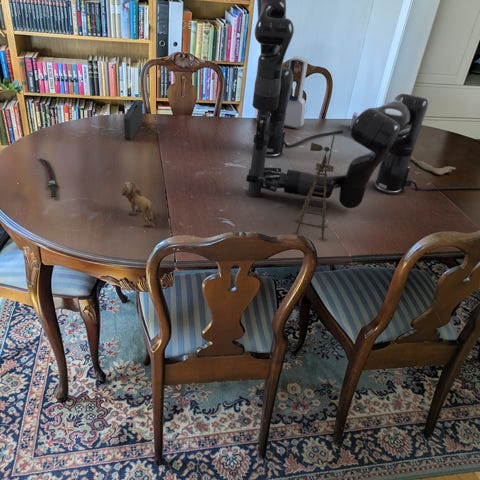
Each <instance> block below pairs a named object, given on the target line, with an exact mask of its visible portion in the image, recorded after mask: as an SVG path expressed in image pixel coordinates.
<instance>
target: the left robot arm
mask: <svg viewBox="0 0 480 480" xmlns="http://www.w3.org/2000/svg"><path fill="white" fill-rule="evenodd" d="M256 3H257V4H256V5H257V21H256V23H255V27H254V38H255V40H256V41H257V43H259V44H260V46H259V47H260V54H259V56H258V59H257V68H256V75H255V76H256V77H255V80H254V81H255V82H254V88H253V96H252V97H253V98H252V108H254V109H256V110H258V112H257V114H256V123H255V131H256V132H255V135H256V136H255V137H256V138H257V140H256V150H263V143H264V138H265V135H267V136H268V137H269V142H268V144H267V151H266V158H277V157H279V156H281V155H282V154H283V149H284V147H285V148H294V147H296V146H298V145H301V144H302V143H305V142H306V141H309V140H311V139H315V138H319V137H323V136H324V137H325V136H328V135H330V136H331V135H333V134H334V133H335V134H342V133H343V130H336V131H330V132H324V133H323V132H322V133H319V134H314V135H310V136H308V137H305V138H304V139H302V140H299V141H297V142H295V143H293V144H287V142H286V140H285V136H286V130H284V128H285V126H284V123H285V116H286V109H287V106H288V103H289V98H290V95H291V94H290V93H292V87H293V82H294V74H293V73H292V70H290V69H289V67H284V66H283V65H284V61H285V57H286V54H287V51H288V49H289V47H290V44H291V42H292V39H293V36H294V33H295V27H294V24H293V22H292V20H291V19H289V18H287V0H256ZM260 134H263V135H260Z"/></svg>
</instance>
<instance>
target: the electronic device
mask: <svg viewBox="0 0 480 480" xmlns="http://www.w3.org/2000/svg"><path fill="white" fill-rule="evenodd" d="M296 62H297V63H301V68H300V74H299V81H298V87H297V94H296V96H294V95H292V94H291V93H292V92H291V93H290V98H289V103H288V106H287V109H286V116H285V123H284V128H289V129H294V130H295V129H296V130H300V129H301V128H302V126H303V125H304V124H305V114H306V113H305V112H306V100H305V98H304V97H303V96H304V95H303V94H304V87H305V82H306V75H307V69H308V63H309V59H308V58H307V57H305V56H301V55H296V56H292V57H291V58H290V59H289V62H288V69H290V70H292V73H293V75H294V73H295V68H296V67H295V66H296Z"/></svg>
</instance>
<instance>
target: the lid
mask: <svg viewBox="0 0 480 480" xmlns="http://www.w3.org/2000/svg"><path fill="white" fill-rule="evenodd" d="M260 135H263V134H260ZM255 136H256V134H254V135H253V140H252V142H253V144H254V143H255V144H256V140H257V138H256V137H255ZM268 142H269V137H268V136H267V135H265V138H264V143H263V145H267V144H268Z"/></svg>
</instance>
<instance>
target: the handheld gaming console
mask: <svg viewBox="0 0 480 480" xmlns="http://www.w3.org/2000/svg"><path fill="white" fill-rule="evenodd" d="M143 107H144V105H143V100H142V99H136V100H135V101H134V102H133V103H132V104H131V106H130V107H129V108H128V109H127V111H126V113H125V114H124V115H123V116H124V117H123V125H124V126H123V127H124V128H123V129H124V139H125V140H128V141H129V140H130V141H132V139H133V138H134V137H135V135H136V133H137V132H138V131H139V129H140V128H141V126H142V124H143V120H144V113H143V112H144V111H143Z"/></svg>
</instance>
